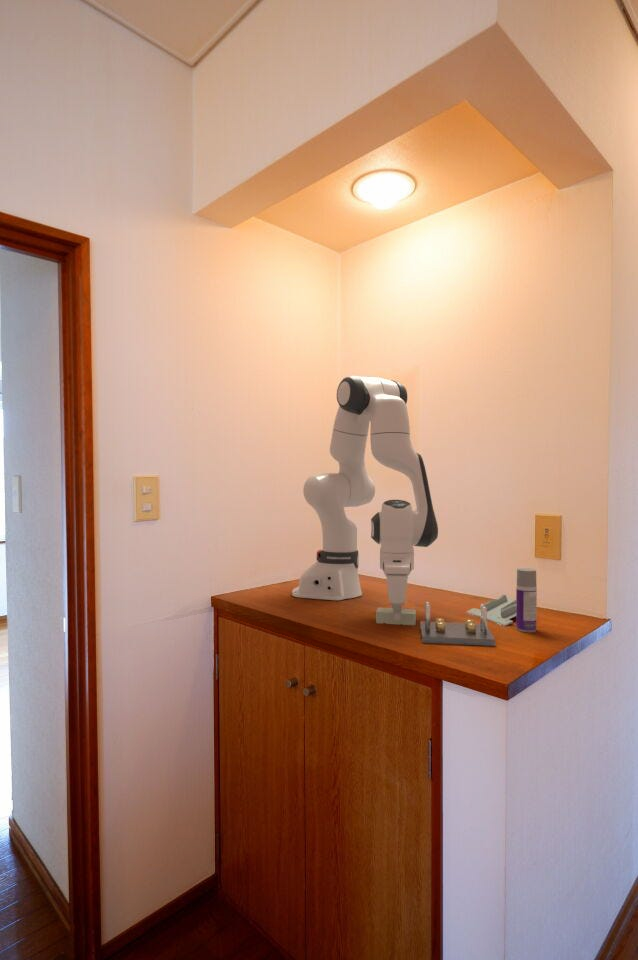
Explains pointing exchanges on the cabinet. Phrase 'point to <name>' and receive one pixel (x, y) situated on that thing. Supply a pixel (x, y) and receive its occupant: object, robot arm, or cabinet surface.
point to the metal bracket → (498, 610)
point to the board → (387, 616)
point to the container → (526, 600)
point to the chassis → (456, 630)
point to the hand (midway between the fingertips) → (396, 614)
